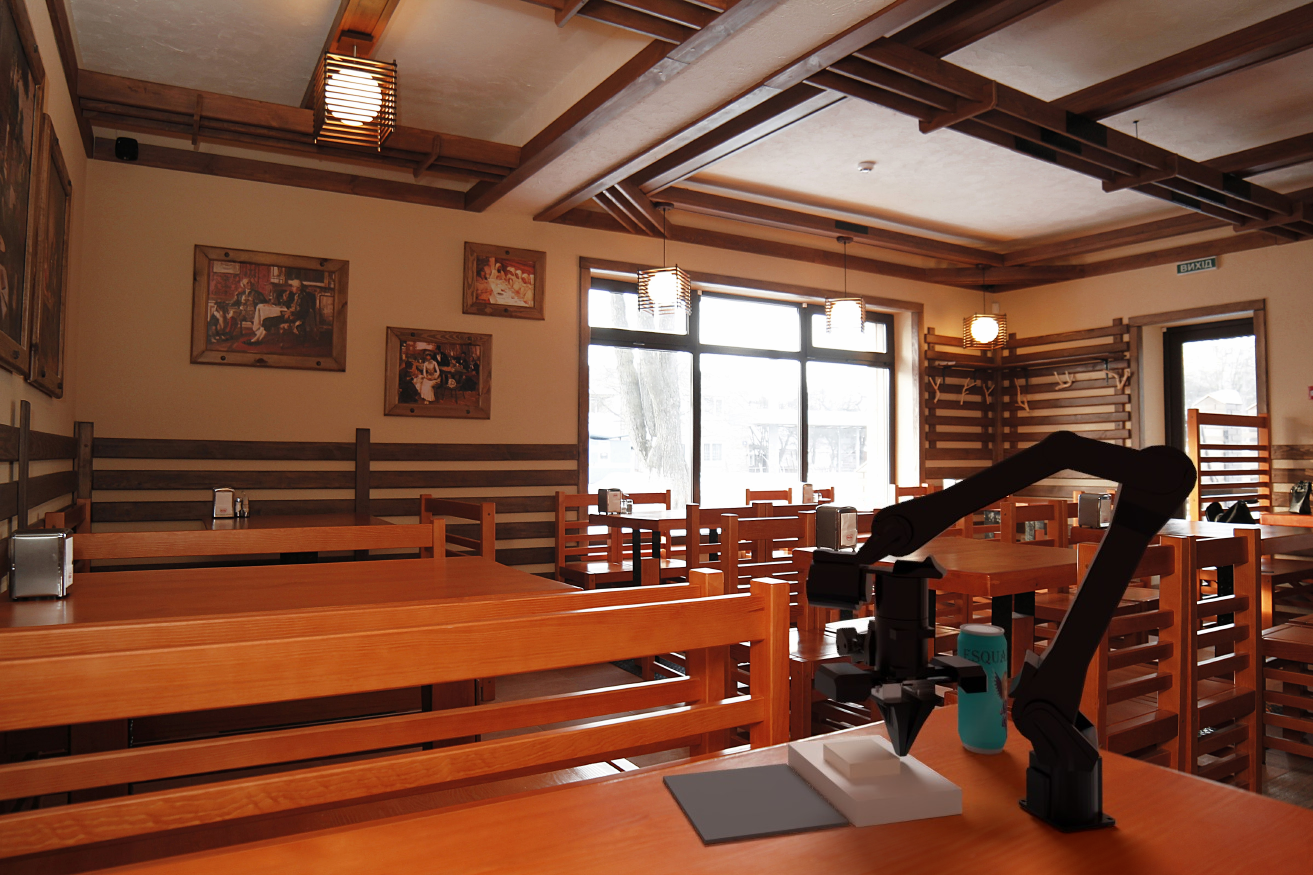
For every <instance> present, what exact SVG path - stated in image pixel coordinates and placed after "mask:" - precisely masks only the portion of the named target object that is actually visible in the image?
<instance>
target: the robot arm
mask: <svg viewBox="0 0 1313 875" xmlns="http://www.w3.org/2000/svg"><path fill="white" fill-rule="evenodd" d="M1065 470H1066V471H1067V470H1069V471H1074V472H1077V473H1082V474H1084V475H1087V476H1091V477H1095V478H1097V479H1103V480H1107V481H1109V482H1114V483H1117V487H1116V491H1115V494H1114V495H1115V496H1114V500H1113V505H1112V509H1111V514H1110V518H1109V522H1108V526H1107V527H1106V530H1105V531H1104V534H1103V536H1102V538H1101V541H1100V542H1099V544H1098V546H1097V549H1096V551H1095V553H1094V555H1093V556H1092V559H1091V561H1090V563H1089V564H1088V565H1089V566H1087V569H1086V571H1085V573H1084V575H1083V577H1082V580H1081V582H1080V584H1079V585H1078V588H1077V590H1076V592H1075V594H1074V595H1073V598H1072V600H1071V602H1070V604H1069V606H1068V609H1067V610H1066V613H1065V615H1064V617H1063V619H1062V621H1061V623H1060V625H1059V628H1058V630H1057V631H1056V634H1055V635H1054V638H1053V639H1052V641H1051V643H1050V644H1049V645H1048V646H1047V648H1046V649H1045V650H1044V651H1043V652H1042V653H1041V654H1040V655H1038V654H1036V653H1034V652H1033V651H1032V650H1030V649H1026V652H1025V657H1024V660H1023V664H1022V668H1021V669H1020V671H1018V674H1016V675H1015V677H1013V678H1012V679H1011V683H1010V685H1009V686H1010V687H1009V690H1008V693H1007V698H1009V699H1013V701H1012V703H1011V710H1010V717H1011V720H1012V722H1013V724H1014V727H1015V729H1016V730H1017V731H1018V732H1019V733H1020V735H1021V736H1022V737H1024V738H1025V739H1026V740H1028V741H1029V742H1030V743H1031V744H1030V745H1031V746H1032V750H1029V751H1028V766H1027V767H1026V768H1025V776H1026V777H1025V778H1026V779H1025V782H1026V784H1025V785H1026V787H1025V788H1026V789H1025V790H1026V792H1025V793H1026V794H1025V795H1026V797H1025V798H1020V799H1018V800H1017V802H1018V804H1017V805H1019V806H1020V807H1022V808H1023V809H1025V810H1026V811H1028V812H1030V813H1031V814H1032V815H1034V816H1036V817H1038V818H1039V819H1041V820H1042V821H1044V822H1046V823H1047V824H1049V825H1051V827H1054V828H1056V829H1058V830H1059V831H1061V832H1063V833H1065V832H1066V833H1069V832H1076V831H1083V830H1091V829H1098V828H1103V827H1112V826H1116V824H1117V821H1116V818H1114V817H1113V816H1111V815H1109V814H1107V813H1105V812H1104V811H1103V810H1104V806H1103V804H1104V802H1103V801H1104V800H1103V799H1104V798H1103V796H1104V795H1103V794H1104V792H1103V789H1104V788H1103V779H1104V778H1103V756H1101V755H1100V751H1099V740H1098V730H1097V726H1096V724H1094V723H1093V722H1092V721H1091V720H1090V718H1088V716H1086V715H1085V714H1084V713H1083V711H1081V709H1080V706H1081V701H1082V697H1083V693H1084V688H1085V683H1086V679H1087V675H1088V670H1089V666H1090V664H1091V662H1092V660H1093V658H1094V656H1095V653H1096V652H1097V650H1098V648H1099V646H1100V644H1101V642H1102V640H1103V638H1104V636H1105V634H1106V631H1107V630H1108V628H1109V626H1110V624H1111V621H1112V620H1113V617H1114V615H1115V614H1116V612H1117V610H1118V608H1119V605H1120V604H1121V601H1122V599H1123V598H1124V595H1125V593H1126V591H1127V589H1128V587H1129V585H1130V584H1131V581H1132V579H1133V577H1134V575H1135V572H1137V571H1136V570H1137V569H1138V567H1139V564H1140V563H1141V561H1142V559H1143V556H1144V555H1145V553H1146V550H1147V549H1148V546H1149V544H1150V543H1151V542H1152V541H1153V539H1154V538H1155V537H1156V536H1157V535H1158V533H1160V531H1161V530H1162V529H1163V528H1164V527H1165V525H1167V523H1168V522H1170V520H1171V519H1172V518H1173V516H1174V515H1175V514H1176V512H1178V511H1179V509H1180V507H1181V506H1183V504H1184V503H1185V501H1186V500H1187V499H1188V497H1189V496H1190V495H1191V494H1192V492H1193V491H1194V489H1195V486H1196V483H1197V481H1198V470H1197V468H1196V465H1195V464H1194V462H1193V460H1192V459H1191V458H1190V456H1188V454H1187V453H1186V452H1184V451H1183V450H1181V449H1179V448H1177V447H1174V446H1170V445H1167V444H1166V445H1165V444H1157V445H1147V446H1144V447H1141V448H1138V449H1136V448H1133V447H1128V446H1124V445H1120V444H1116V443H1113V442H1112V443H1111V442H1107V441H1103V440H1099V439H1095V438H1090V437H1087V436H1082V435H1079V434H1078V433H1076V432H1073V431H1071V430H1060V429H1059V430H1057V431H1054V432H1051V433H1050V434H1048V435H1047V436H1046V437H1045V438H1043V439H1042V440H1041V441H1039V442H1037V443H1035V444H1032V445H1030V446H1029V447H1027V448H1025V449H1023V450H1021V451H1018V452H1017V453H1015V454H1012V455H1010V456H1008V457H1006V458H1005V459H1002V460H1000V461H999V462H997V463H994V464H993V465H990V466H988V467H986V468H985V469H981V470H980V471H979V472H977V473H974V474H972V475H970V476H969V477H966V478H964V479H962V480H960V481H958V482H957V483H956V482H955V483H954V484H953V485H950V486H949V487H947V488H945V489H941V490H938V491H935V492H930V493H928V494H923V495H921V496H917V497H914V498H911V499H910V498H909V499H907V500H903V501H900V502H897V503H894V504H890V505H888V506H885V507H883V508H881V509H879V511H877V512H876V513H875V515H874V516H873V518H872V522H871V526H870V535H869V537H867V539H866V541H864V543H863V544H862V545H861V547H859V548H858V550H857V552H854V551H839V550H833V549H830V548H823V547H822V548H821V547H819V548H817V549H813V550H812V560H811V562H810V565H809V569H808V574H807V578H806V580H805V593H806V594H805V595H806V599H807V604H808V605H809V606H810V607H818V608H827V609H828V608H830V609H835V610H836V609H837V610H848V611H856V612H857V611H858V612H859V611H861V610H862V607H863V604H864V603H865V604H870V603H871V601H872V598H873V593H874V619H869V620H868V623H867V632H865V633H858V630H857V628H856V627H854V626H851V627H850V626H849V627H839V628H836V631H835V632H836V633H835V646H836V647H835V648H836V652H837V655H838V656H839V657H850V660H851V663H849V662H847V661H846V662H836V663H821V664H819V666H818V668H817V669H816V671H815V672H814V689H815V690H817V691H818V692H820V693H821V694H823V695H825V697H828V698H829V699H831V700H832V701H833V702H835V703H838V704H850V703H851V704H853V703H864V702H867V701H868V699H871V700H872V701H874V703H875V704H876V706H877V708H878V711H879V712H880V715H881V717H882V719H883V721H884V725H885V728H886V730H887V734H888V736H889V739H890V742H891V743H892V745H893V748H894V751H895V753H896V755H898V756H899V757H905V756H907V754H909V752H910V750H911V748H912V747H913V745H914V743H915V740H917V737H918V735H919V734H920V731H921V730H922V728H923V726H924V724H925V722H926V721H927V720H928V718H929V716H930V715H931V714H932V713H933V711H934V709H935V707H936V706H937V705H938V704H943V702H944V697H943V696H941V695H940V694H937V691H936V690H937V688H936V685H940V684H952V683H953V684H954V683H957V684H956V685H957V688H958V687H959V688H960V689H961V690H962V691H963V692H964V693H966V694H970V693H983V692H987V691H988V676H987V674H986V672H985V670H984V668H983V667H982V665H979V664H977V663H974V662H972V661H969V660H967V659H965V658H962V657H960V656H958V655H943V656H932V657H931V658H930V660H929V639H936V628H934V627H931V626H930V625H929V579H931V580H942V579H943V578H945V576H946V575H947V574H948V570H947V569H946V568H945V567H944V566H942V565H941V564H940V563H939V562H938V560H936V558H935V556H934V555H933V554H929V555H927V556H926V557H925V558H924V560H911V559H899V558H903V557H907V556H911V555H912V554H913V553H915V552H916V551H919V550H920V549H922V548H923V547H925V546H926V545H927V544H929V543H930V542H932V541H933V540H935V539H936V538H938V537H939V536H940V535H941V534H943V533H944V532H946V531H947V530H948V529H950V528H951V527H952V526H954V525H955V524H956V523H958V522H959V521H961V520H962V519H963V518H966V517H968V516H969V515H972V514H973V513H976V512H978V511H980V510H983V509H984V508H986V507H989V506H990V505H992V504H995V503H996V502H998V501H1001V500H1004V499H1005V498H1007V497H1010V496H1011V495H1013V494H1015V493H1018V492H1020V491H1022V490H1023V489H1026V488H1028V487H1030V486H1033V485H1035V484H1037V483H1039V482H1040V481H1043V480H1044V479H1047V478H1049V477H1051V476H1054V475H1055V474H1057V473H1059V472H1062V471H1065ZM889 556H891V557H895V558H898V559H895V561H894V563H893V566H881V565H874V564H876V563H877V562H879V561H881V560H884V559H886V558H887V557H889ZM873 575H874V576H873ZM873 577H874V578H873ZM862 663H863V665H865V666H866V667H869V668H871V667H873V668H874V669H873V670H862V669H861V668H860V667H859V668H858V667H857V666H855V665H860V664H862Z"/></svg>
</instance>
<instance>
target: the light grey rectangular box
mask: <svg viewBox="0 0 1313 875" xmlns="http://www.w3.org/2000/svg"><path fill="white" fill-rule="evenodd" d="M863 739H872V740H873V741H875V742H876V743H878V744H879V745H881V746H882V747H884V748H885V749H887V750H888V751H890V752H891V753H893V754H894V755H896V753H895V751H894V748H893V745H892V742H891V741H890V740H888V739H886V738H884V737H883V736H881V735H880V734H871V735H863V736H862V735H861V736H851V737H841V738H830V739H820V740H811V741H810V740H809V741H801V742H798V741H797V742H791V743H790V742H788V743H787V745H788V746H787V747H788V748H787V765H788V766H789V767H791V768H792V769H793V770H794V771H795V772H796V773H797V774H798V775H799V776H800V777H801V778H803V779H804V780H805V781H806V782H807V783H808V784H809V785H810V786H811V787H812V788H813V789H815V790H816V791H817V792H818V793H819V794H820V795H821V796H822V797H823V798H824V799H825V800H827V801H828V802H829V803H830V804H831V805H832V806H833V807H834V808H835V809H836V810H837V811H839V812H840V813H841V814H842V815H843V816H844V817H845V818H846V819H847V820H848V821H849V822H850V823H851V824H852V825H854V827H856V828H861V827H869V826H870V827H871V826H877V825H885V824H893V823H894V824H895V823H900V822H901V823H902V822H908V821H916V820H925V819H930V818H931V819H932V818H940V817H946V816H947V817H948V816H953V815H961V814H963V788H961V787H960V786H958V785H957V784H955V783H954V782H952V781H950V779H947V778H946V777H944V776H943V775H941V774H940V773H938V772H937V771H935V770H933V769H932V768H930V767H929V766H927V765H926V764H924V763H923V762H921V761H920V760H919V759H916V758H915V757H914V756H913V755H911V754H909V753H908V754H907V756H905V757H899V756H898V755H896V756H897V757H899V758H900V774H891V775H883V776H874V777H865V778H856V779H849V778H848V777H846V776H845V775H844V774H843V773H841V772H840V771H839V770H838V769H836V768H835V767H834V766H833V765H832V764H830V763H829V762H828V761H827V760H825V759H824V758H823V743H833V742H843V741H853V740H863Z"/></svg>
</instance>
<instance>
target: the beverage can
mask: <svg viewBox="0 0 1313 875" xmlns="http://www.w3.org/2000/svg"><path fill="white" fill-rule="evenodd" d="M959 629H960V631H959V634H958V636H957V656H960V657H962V658H965V659H967V660H969V661H972V662H974V663H977V664H979V665H982V667H983V668H984V670H985V672H986V674H987V676H988V691H987V692H983V693H970V694H966V693H964V692H963V691H962V690H961V689H960V688H959V687H958V686H957V732H958V735H959V738H960V742H961V744H962V746H963V747H964V748H965V749H966V750H967V751H970V752H972V753H976V754H980V755H990V756H991V755H997V754H1000V753H1002V752H1003V750H1004V748H1005V744H1006V743H1007V740H1008V641H1007V640H1006V637H1005V634H1004V633H1005V629H1004V628H1003V627H1001V626H996V625H991V624H986V623H964V624H962V625H960V626H959Z"/></svg>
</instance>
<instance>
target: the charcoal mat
mask: <svg viewBox="0 0 1313 875" xmlns="http://www.w3.org/2000/svg"><path fill="white" fill-rule="evenodd" d="M662 781H663V782H664V784H665V785H666V787H667V789H668V790H669V791H670V793H671V795H672V796H673V797H674V799H675V800H676V802H677V804H678V805H679V807H680V808H681V810H682V811H683V813H684V814H685V816H686V817H687V819H688V820H689V822H690V823H691V825H692V826H693V828H694V829H695V831H696V832H697V834H698V836H699V837H700V838H701V840H702V842H703V843H704V845H711V844H718V843H720V844H721V843H726V842H734V841H735V842H736V841H743V840H748V839H758V838H765V837H774V836H781V835H786V834H787V835H789V834H797V833H804V832H811V831H820V830H826V829H827V830H828V829H834V828H841V827H849V826H850V823H851V822H850V821H849V820H848V819H847V818H846V817H845V816H844V815H843V814H841V813H840V812H839V811H838V810H837V809H836V808H835V807H834V806H833V805H832V804H830V803H829V802H828V801H827V800H826V799H825V798H824V797H823V796H822V795H821V794H820V793H818V792H817V791H816V790H815V789H814V788H813V787H812V786H811V785H810V784H809V783H808V782H806V781H805V780H804V779H803V778H802V777H801V776H800V775H799V774H798V773H797V772H796V771H794V770H793V769H792V768H791V767H790V766H789V765H788V763H776V764H767V765H766V764H765V765H757V766H748V767H747V766H746V767H739V768H737V767H736V768H729V769H720V770H711V771H700V772H691V773H681V774H671V775H663V776H662Z"/></svg>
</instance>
